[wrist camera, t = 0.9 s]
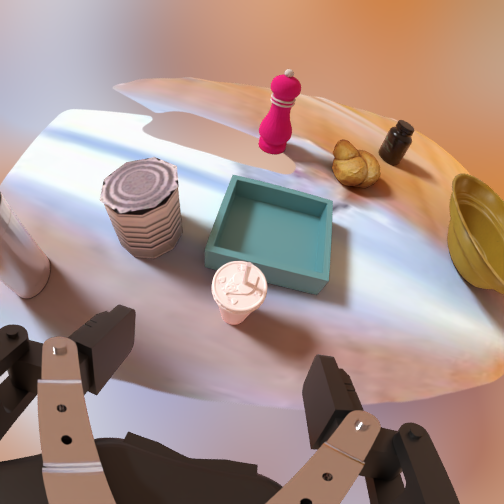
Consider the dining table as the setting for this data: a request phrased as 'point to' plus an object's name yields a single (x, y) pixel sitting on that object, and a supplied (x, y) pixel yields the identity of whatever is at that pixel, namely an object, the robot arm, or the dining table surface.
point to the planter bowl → (477, 233)
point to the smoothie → (238, 290)
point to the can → (144, 206)
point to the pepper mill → (279, 114)
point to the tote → (274, 234)
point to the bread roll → (354, 165)
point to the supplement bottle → (396, 143)
